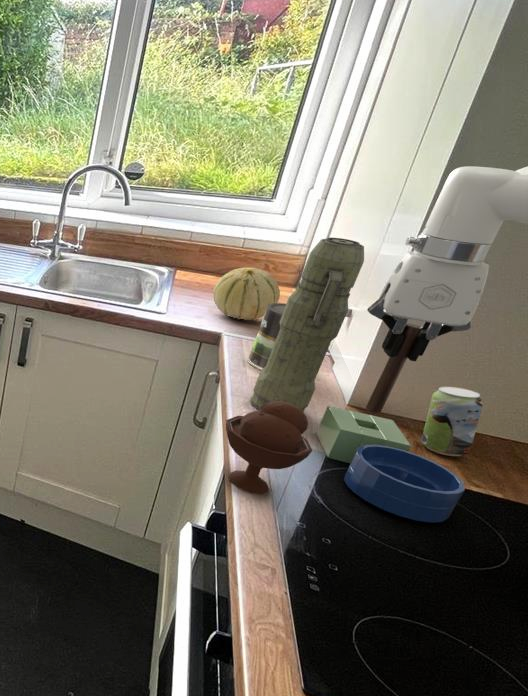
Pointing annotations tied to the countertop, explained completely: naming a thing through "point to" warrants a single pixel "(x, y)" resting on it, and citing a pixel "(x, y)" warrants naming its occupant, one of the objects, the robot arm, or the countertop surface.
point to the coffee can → (266, 335)
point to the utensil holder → (356, 433)
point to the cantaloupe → (246, 293)
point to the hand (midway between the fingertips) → (399, 355)
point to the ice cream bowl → (267, 442)
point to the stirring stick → (393, 369)
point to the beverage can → (452, 421)
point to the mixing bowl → (404, 483)
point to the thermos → (310, 323)
